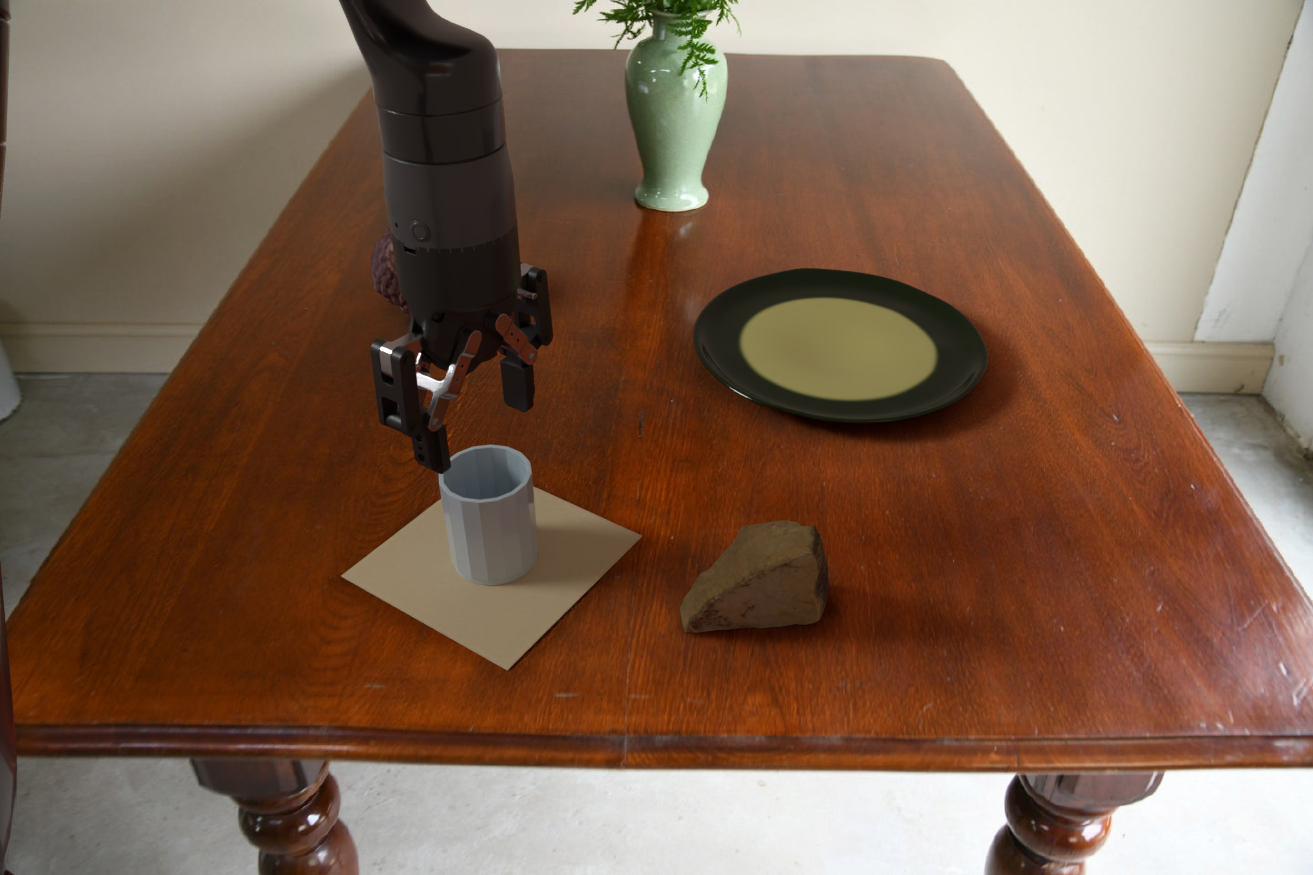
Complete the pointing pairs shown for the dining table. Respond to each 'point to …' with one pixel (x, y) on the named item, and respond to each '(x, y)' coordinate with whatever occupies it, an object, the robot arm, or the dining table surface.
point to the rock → (761, 581)
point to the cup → (490, 514)
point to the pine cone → (387, 272)
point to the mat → (494, 614)
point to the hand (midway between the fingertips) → (479, 436)
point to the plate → (840, 346)
